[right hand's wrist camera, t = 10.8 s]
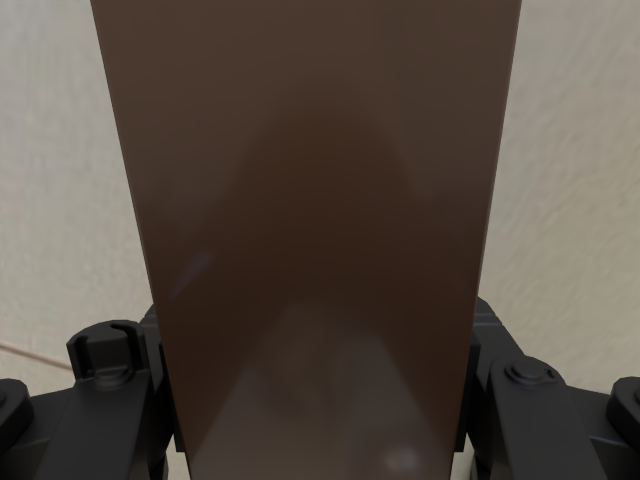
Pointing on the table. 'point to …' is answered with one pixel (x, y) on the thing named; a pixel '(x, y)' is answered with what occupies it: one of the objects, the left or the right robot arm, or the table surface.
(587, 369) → the table surface
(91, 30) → the table surface
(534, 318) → the table surface
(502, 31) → the beam
